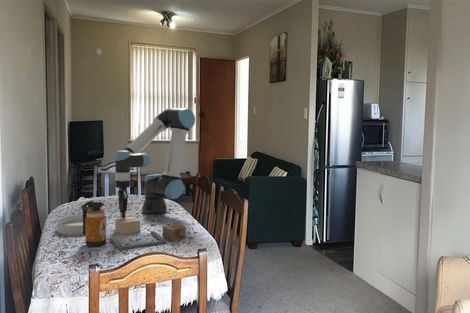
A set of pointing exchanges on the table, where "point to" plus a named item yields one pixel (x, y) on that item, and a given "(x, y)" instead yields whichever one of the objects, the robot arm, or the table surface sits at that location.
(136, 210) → the table surface
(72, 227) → the dish
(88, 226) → the canister
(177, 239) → the walnut box
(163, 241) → the dark grey flat u-shape
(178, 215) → the table surface
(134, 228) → the carton
